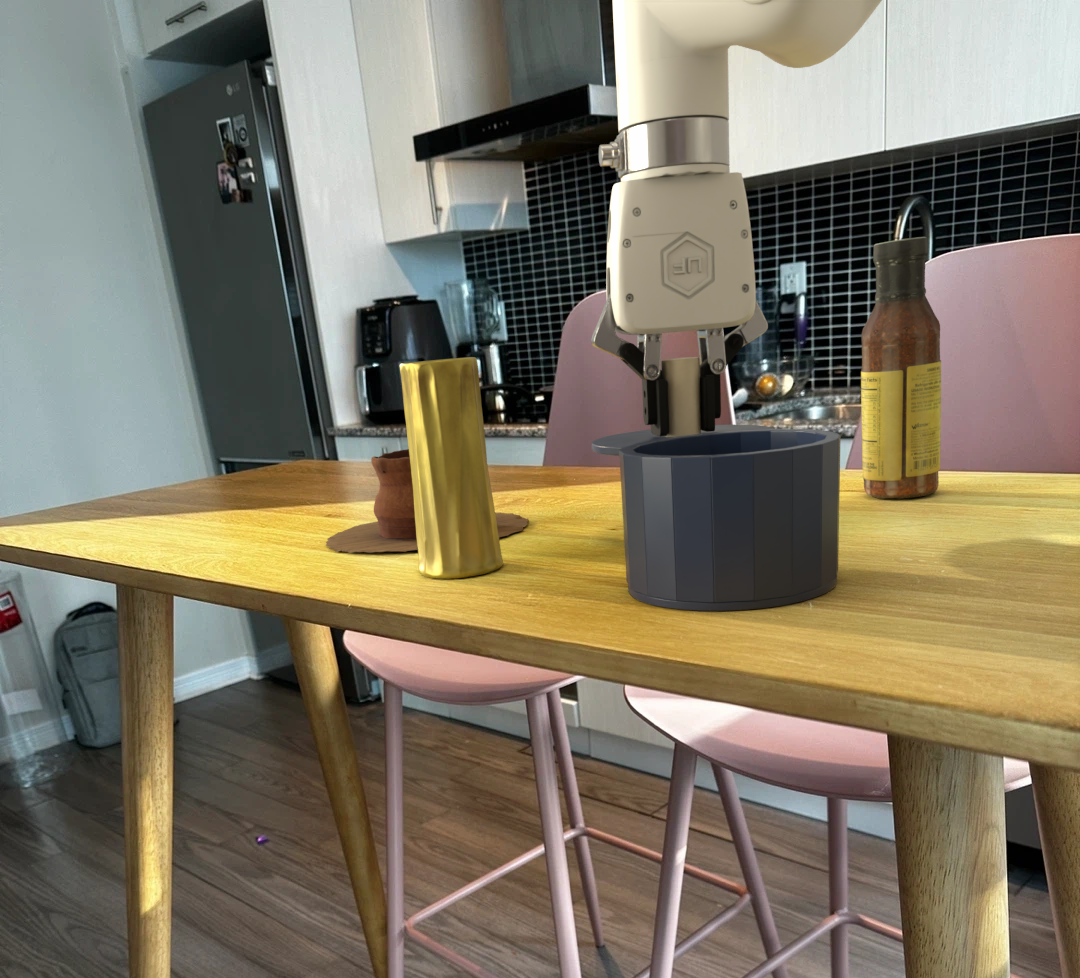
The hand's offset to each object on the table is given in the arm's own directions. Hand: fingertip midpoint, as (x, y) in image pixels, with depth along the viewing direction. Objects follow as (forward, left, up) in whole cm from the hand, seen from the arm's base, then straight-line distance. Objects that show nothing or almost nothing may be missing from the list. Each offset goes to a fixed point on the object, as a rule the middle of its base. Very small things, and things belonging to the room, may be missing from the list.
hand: (682, 430), depth 77 cm
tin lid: (0, 0, -1) cm, 1 cm away
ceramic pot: (+20, -12, -8) cm, 25 cm away
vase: (+18, +5, -8) cm, 20 cm away
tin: (+2, +18, -8) cm, 20 cm away
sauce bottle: (-20, -6, -8) cm, 22 cm away
